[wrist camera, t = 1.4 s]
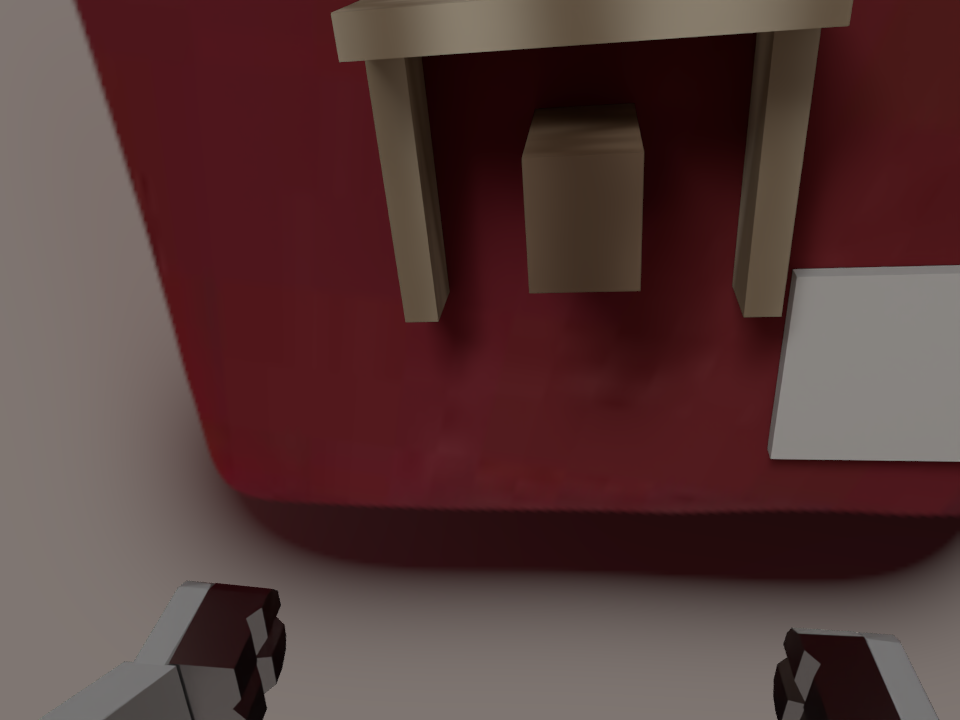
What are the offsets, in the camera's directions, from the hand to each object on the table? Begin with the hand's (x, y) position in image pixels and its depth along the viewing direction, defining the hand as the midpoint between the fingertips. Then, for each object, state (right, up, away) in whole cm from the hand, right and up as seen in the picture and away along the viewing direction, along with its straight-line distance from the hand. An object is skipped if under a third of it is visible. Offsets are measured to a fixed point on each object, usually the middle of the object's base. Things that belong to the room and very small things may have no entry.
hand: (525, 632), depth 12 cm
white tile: (+18, +4, +23) cm, 29 cm away
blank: (+4, +13, +20) cm, 24 cm away
